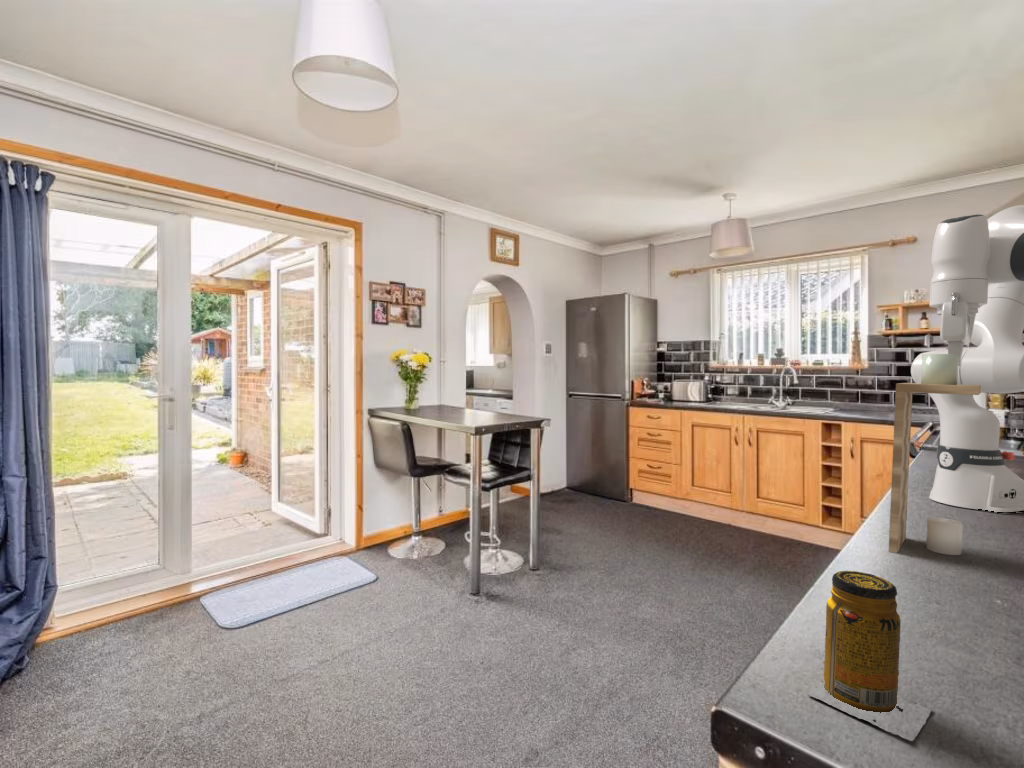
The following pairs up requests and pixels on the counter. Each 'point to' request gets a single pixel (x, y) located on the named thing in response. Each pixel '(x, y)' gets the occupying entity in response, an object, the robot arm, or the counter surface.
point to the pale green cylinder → (939, 369)
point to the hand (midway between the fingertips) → (954, 365)
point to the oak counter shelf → (903, 451)
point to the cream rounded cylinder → (944, 536)
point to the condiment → (862, 641)
